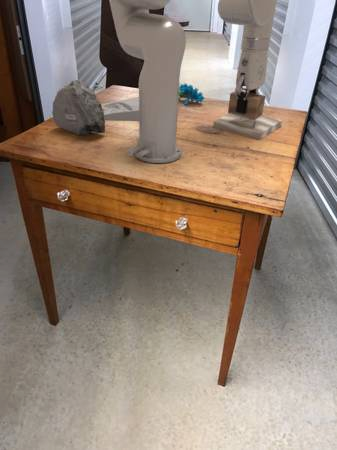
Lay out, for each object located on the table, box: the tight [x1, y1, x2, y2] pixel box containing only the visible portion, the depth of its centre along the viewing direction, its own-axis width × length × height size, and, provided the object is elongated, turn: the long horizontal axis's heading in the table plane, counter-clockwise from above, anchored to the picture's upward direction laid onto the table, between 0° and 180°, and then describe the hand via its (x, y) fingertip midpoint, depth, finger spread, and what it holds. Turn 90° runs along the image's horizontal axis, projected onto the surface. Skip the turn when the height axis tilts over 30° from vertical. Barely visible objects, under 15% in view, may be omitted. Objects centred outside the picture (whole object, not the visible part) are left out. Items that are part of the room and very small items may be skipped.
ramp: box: [101, 96, 139, 122], centre depth 118 cm, size 28×16×5 cm, turn 74°
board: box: [212, 113, 283, 141], centre depth 114 cm, size 16×16×2 cm
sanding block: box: [227, 90, 266, 120], centre depth 108 cm, size 5×9×6 cm, turn 53°
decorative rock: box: [51, 79, 106, 136], centre depth 100 cm, size 16×7×15 cm, turn 58°
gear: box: [178, 82, 205, 106], centre depth 132 cm, size 11×6×10 cm
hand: (245, 109), depth 109 cm, fingers closed on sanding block, 5 cm apart
